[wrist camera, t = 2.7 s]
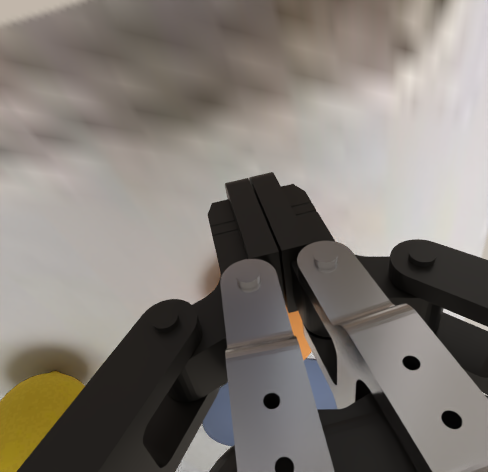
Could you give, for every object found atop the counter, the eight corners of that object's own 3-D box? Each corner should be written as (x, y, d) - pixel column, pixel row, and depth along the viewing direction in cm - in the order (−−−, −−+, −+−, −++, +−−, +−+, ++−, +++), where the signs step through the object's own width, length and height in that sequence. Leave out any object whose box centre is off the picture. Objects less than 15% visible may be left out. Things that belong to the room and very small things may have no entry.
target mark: (311, 443, 38) (312, 446, 37) (185, 447, 33) (185, 450, 33) (376, 362, 31) (377, 364, 31) (229, 354, 27) (230, 357, 27)
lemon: (92, 401, 27) (77, 542, 21) (-1, 396, 25) (-49, 551, 19) (112, 349, 25) (103, 493, 18) (10, 337, 22) (-41, 497, 16)
